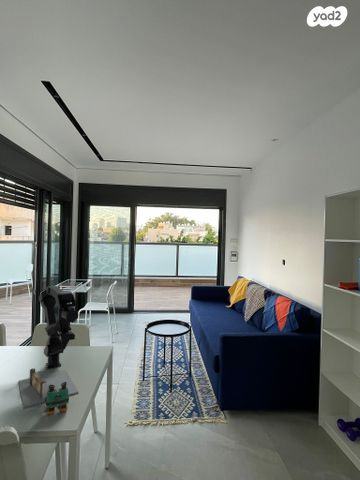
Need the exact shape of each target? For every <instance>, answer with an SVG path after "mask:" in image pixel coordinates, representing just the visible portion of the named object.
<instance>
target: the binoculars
mask: <svg viewBox="0 0 360 480" xmlns="http://www.w3.org/2000/svg"><path fill="white" fill-rule="evenodd" d="M66 385H67V382H63V383H62V384H61V386H62V388H60V389H59V392H57V390H56V389H54V387H55V386H54V385H49V389H50V390H48V391H47V397H46V398H45V401H46V402H45V407H46V408H47V413H46V414H47V415H54V414H55V412H56V409H55V408H57V407H59V411H60V412H66V411H68V404H69V402H70V396H69V394H68V387H66Z"/></svg>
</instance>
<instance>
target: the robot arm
mask: <svg viewBox="0 0 360 480" xmlns="http://www.w3.org/2000/svg"><path fill="white" fill-rule="evenodd" d="M38 300H39V303H40V306H41V307H42V309H44V312H45V319H46V326H45V327H44V330H45V333H46V335H47V337H48V338H47V339H46V342H45V343H46V344H45V346H44V349H43V355H44V356H45V357H46V358H47V362H46V363H45V365H46V368H47V369H48V370H49V369H54V368H58V367H61V366H62V364H61V362H60V355H61V354H64V351H65V350H66V348H67V346H68V344H69V342H70V341H73V340H75V339H76V335H75V333H74V332H73V331H72V328H71V323H75V322H76V321H77V320H78V318H79V312H78V311H77V310H75V307H77V305H76V304H77V301H76V298H75V295H74V293H73V292H72V291H69V290H62V289H61V288H59V287H58V286H57V285H48V286H47V287H46V288H45V289H44V290H42V291H41V292H40V294H39V296H38ZM56 305H57V317H56V312H55V306H56Z"/></svg>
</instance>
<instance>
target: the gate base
mask: <svg viewBox="0 0 360 480" xmlns="http://www.w3.org/2000/svg"><path fill="white" fill-rule="evenodd" d="M38 376H39V377H40V378H41V379H42V380H43V381H46V383H43V389H42V398H41V397H40V393H39V392H38V391H37V389H36V388H35V387H34V386H33V385H30V377H29V378H24V379H20V380H18V385H19V391H20V395H21V396H20V397H21V398H22V399H21V400H22V404H23V408H24V409H26V408H30V407H34V406H38V405H40V404H44V403H45V404H46V401H45V398H46V397H47V391H48V390H50V389H49V385H54V386H55V387H54V389H56V390H57V392H59V389H60V388H62V386H61V384H62V383H63V382H67V385H66V387H68V394H69V397H70V396H74V395H77V394H79V391H78V389H77V386H76V385H75V383H74V382H73V380H72V378H71V377H70V375H69V373H68V371H67V370H66V369H64V370H59V371H54V372H51V373H45V374H42V375H38Z"/></svg>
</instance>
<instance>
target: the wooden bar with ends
mask: <svg viewBox="0 0 360 480" xmlns="http://www.w3.org/2000/svg"><path fill="white" fill-rule="evenodd" d="M39 376H40V375H39V374H38V373H37V372H36V368H30V369H29V378H30V385H33V386H34V387H35V388H36V389H37V391H38V392H39V393H40V397H41V398H42V389H43V383H46V381H43V380H42V379H41V378H40V377H39Z"/></svg>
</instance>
